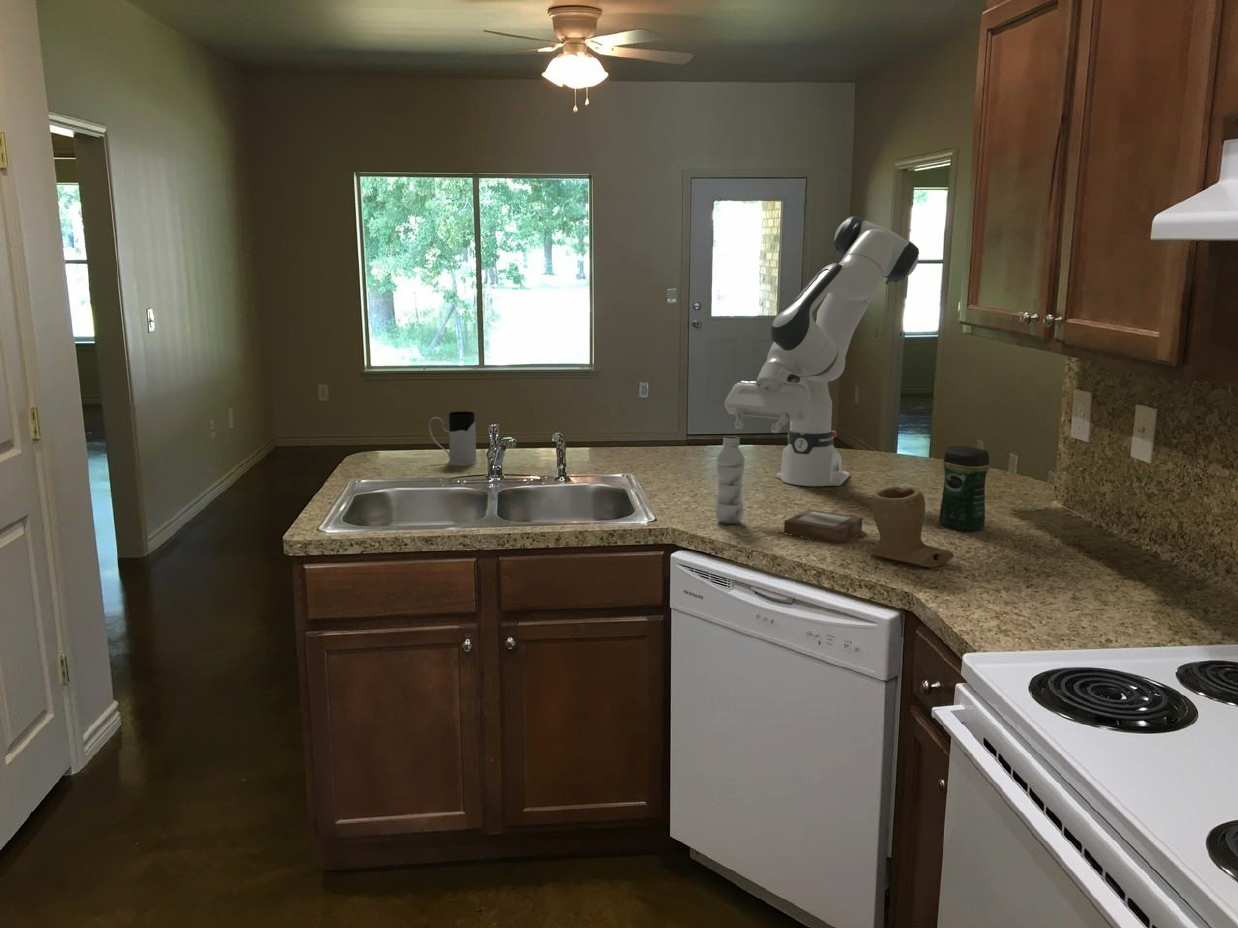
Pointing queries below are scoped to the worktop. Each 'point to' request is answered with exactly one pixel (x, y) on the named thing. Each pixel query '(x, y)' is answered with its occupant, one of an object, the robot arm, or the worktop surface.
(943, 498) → the coffee jar
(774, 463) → the worktop surface
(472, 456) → the grey and black mug
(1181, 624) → the worktop surface
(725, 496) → the plastic bottle
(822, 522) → the walnut slab
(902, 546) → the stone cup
